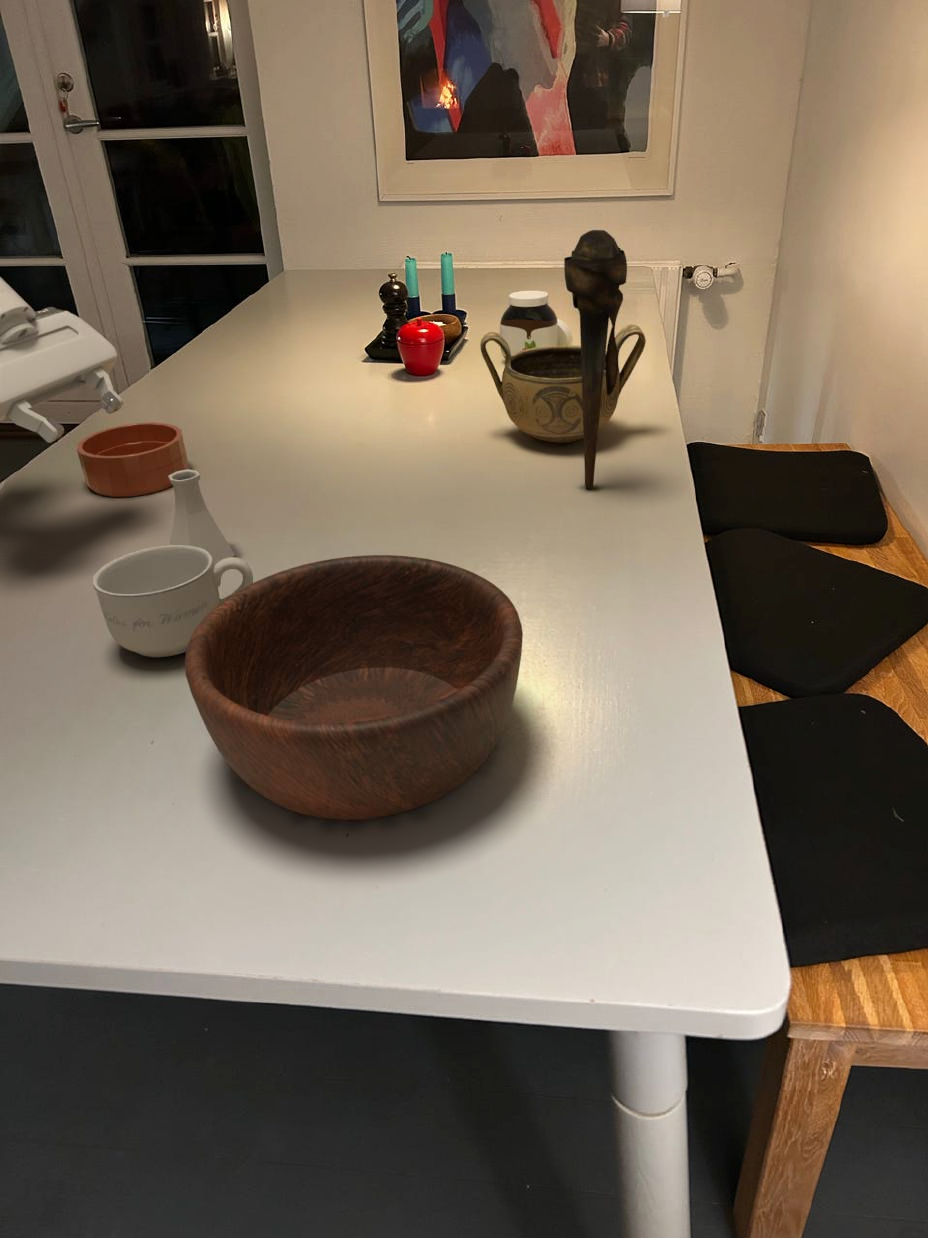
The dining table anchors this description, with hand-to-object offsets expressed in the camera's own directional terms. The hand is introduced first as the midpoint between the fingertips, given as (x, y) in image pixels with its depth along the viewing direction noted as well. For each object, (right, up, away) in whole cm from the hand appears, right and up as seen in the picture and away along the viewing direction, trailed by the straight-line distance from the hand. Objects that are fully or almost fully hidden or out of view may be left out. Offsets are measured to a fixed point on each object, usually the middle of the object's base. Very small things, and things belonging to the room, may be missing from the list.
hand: (88, 422), depth 98 cm
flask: (+11, -15, +4) cm, 19 cm away
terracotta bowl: (-4, -2, +26) cm, 26 cm away
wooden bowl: (+33, -31, -25) cm, 51 cm away
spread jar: (+54, +26, +68) cm, 90 cm away
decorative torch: (+56, -5, +16) cm, 59 cm away
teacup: (+14, -23, -11) cm, 29 cm away
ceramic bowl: (+54, +5, +33) cm, 64 cm away
